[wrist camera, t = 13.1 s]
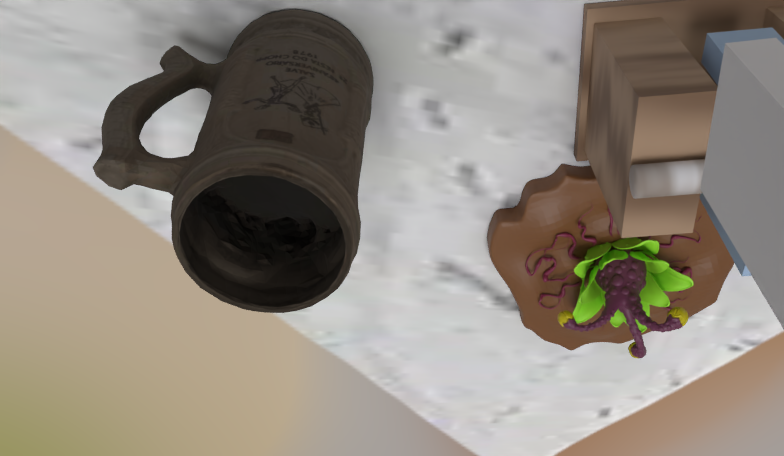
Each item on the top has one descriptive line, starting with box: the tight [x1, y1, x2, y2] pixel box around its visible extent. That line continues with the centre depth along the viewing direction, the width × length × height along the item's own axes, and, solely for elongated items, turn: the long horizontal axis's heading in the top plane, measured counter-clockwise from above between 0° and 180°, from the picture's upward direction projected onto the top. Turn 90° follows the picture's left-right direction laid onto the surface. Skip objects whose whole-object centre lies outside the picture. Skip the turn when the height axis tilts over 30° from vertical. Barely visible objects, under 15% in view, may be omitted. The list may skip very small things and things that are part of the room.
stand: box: [574, 0, 784, 238], centre depth 47 cm, size 12×17×14 cm
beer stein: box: [93, 10, 373, 313], centre depth 45 cm, size 15×11×20 cm
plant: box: [487, 164, 734, 358], centre depth 59 cm, size 20×20×11 cm
